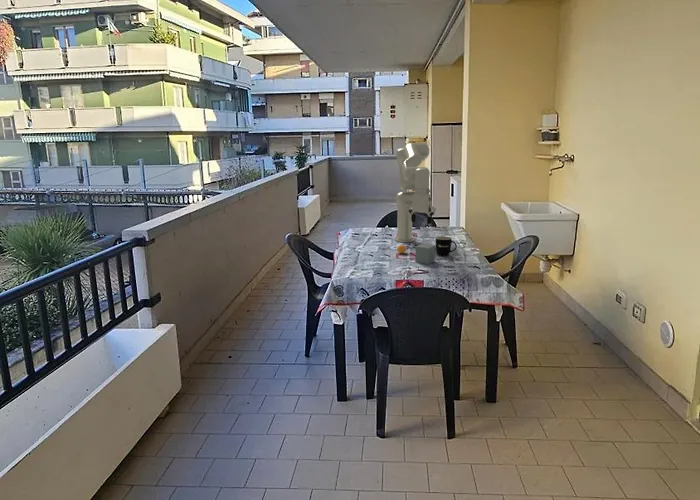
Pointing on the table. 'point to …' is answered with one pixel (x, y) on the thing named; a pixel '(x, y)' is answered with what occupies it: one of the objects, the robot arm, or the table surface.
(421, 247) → the grey rounded box
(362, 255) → the table surface
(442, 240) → the mug
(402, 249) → the ball
